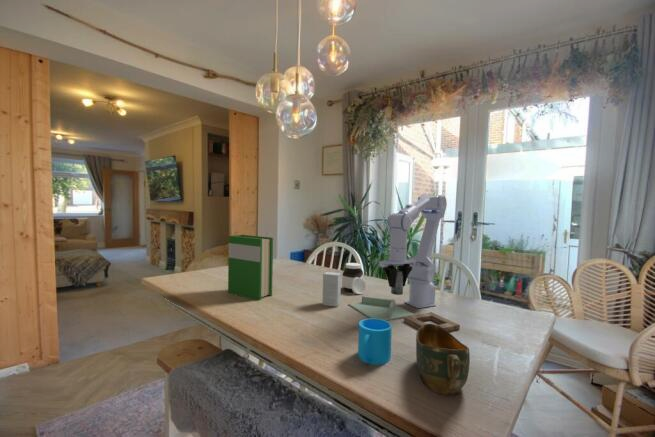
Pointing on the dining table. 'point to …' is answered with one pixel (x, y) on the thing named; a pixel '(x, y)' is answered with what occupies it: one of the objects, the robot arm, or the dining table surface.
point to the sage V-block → (380, 308)
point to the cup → (441, 360)
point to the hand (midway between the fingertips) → (396, 286)
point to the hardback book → (250, 266)
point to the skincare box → (331, 289)
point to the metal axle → (398, 283)
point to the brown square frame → (444, 323)
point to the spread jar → (353, 278)
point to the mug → (374, 341)
